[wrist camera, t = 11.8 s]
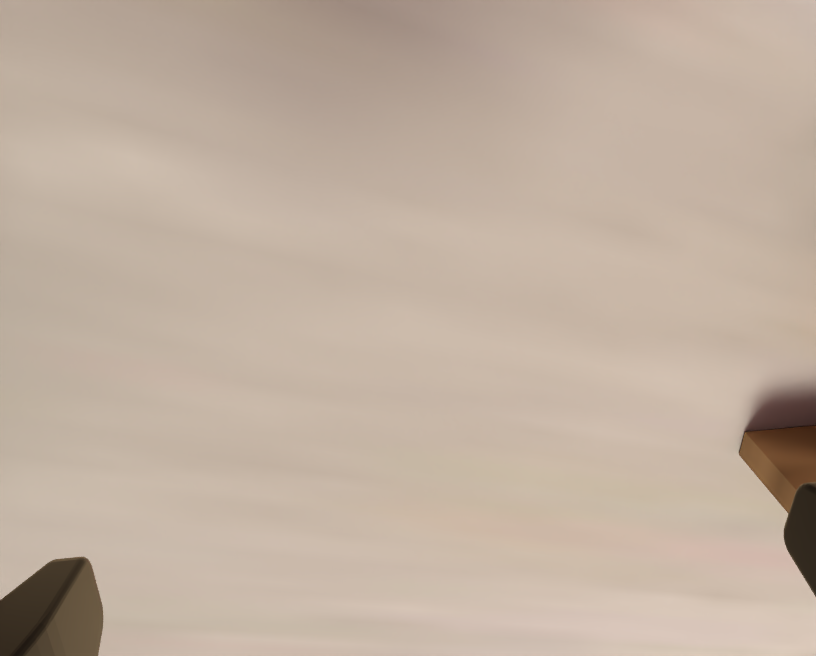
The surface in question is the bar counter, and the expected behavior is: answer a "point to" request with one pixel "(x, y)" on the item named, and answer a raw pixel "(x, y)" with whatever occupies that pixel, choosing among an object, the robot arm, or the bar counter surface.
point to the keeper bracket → (782, 459)
